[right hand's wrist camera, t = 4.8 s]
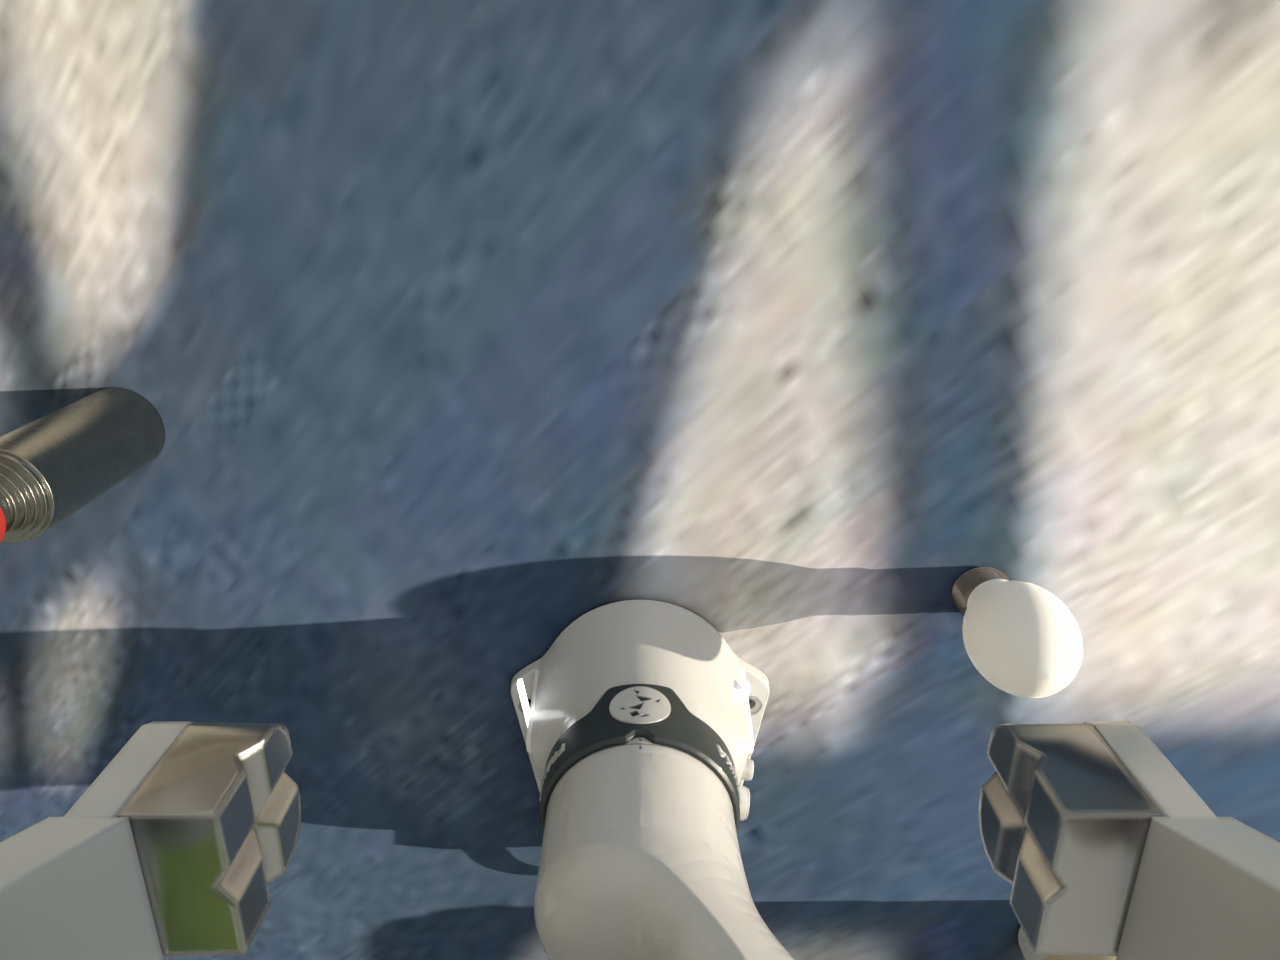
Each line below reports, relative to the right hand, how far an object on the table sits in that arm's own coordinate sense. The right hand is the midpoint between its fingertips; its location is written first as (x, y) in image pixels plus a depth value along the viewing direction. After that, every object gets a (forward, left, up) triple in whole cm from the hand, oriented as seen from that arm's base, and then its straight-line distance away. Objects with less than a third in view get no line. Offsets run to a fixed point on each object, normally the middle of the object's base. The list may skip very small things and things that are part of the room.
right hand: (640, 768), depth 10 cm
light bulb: (-23, -24, -48) cm, 58 cm away
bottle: (-11, +34, -48) cm, 60 cm away
